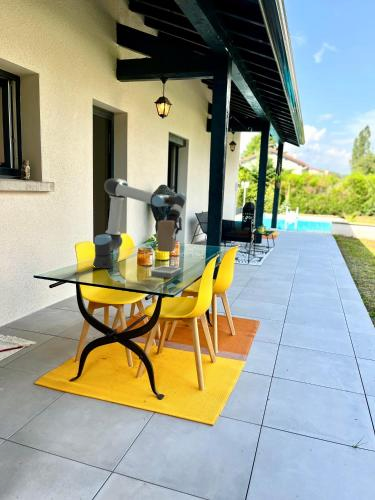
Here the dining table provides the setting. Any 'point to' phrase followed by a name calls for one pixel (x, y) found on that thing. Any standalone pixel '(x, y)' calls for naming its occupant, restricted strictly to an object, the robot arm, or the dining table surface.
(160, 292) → the dining table surface
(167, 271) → the baseplate
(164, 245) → the block
